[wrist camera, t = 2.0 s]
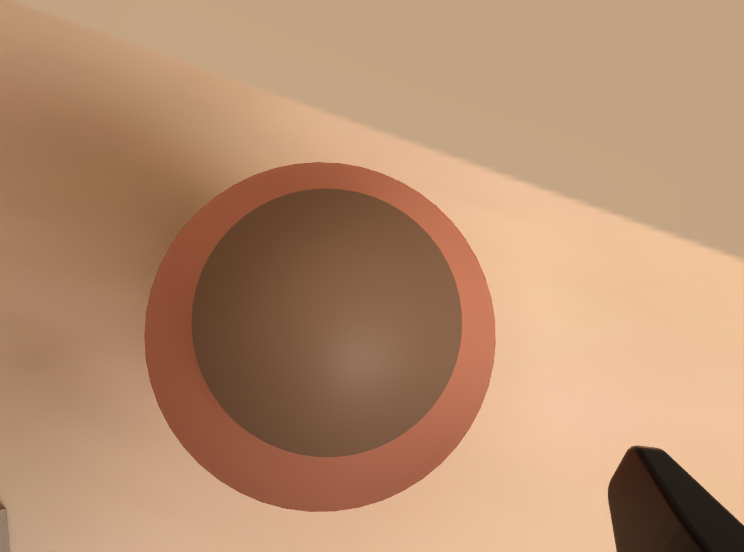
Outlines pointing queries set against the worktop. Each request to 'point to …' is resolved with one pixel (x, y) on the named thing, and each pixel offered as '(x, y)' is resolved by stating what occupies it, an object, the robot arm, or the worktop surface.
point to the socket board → (3, 532)
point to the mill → (320, 337)
